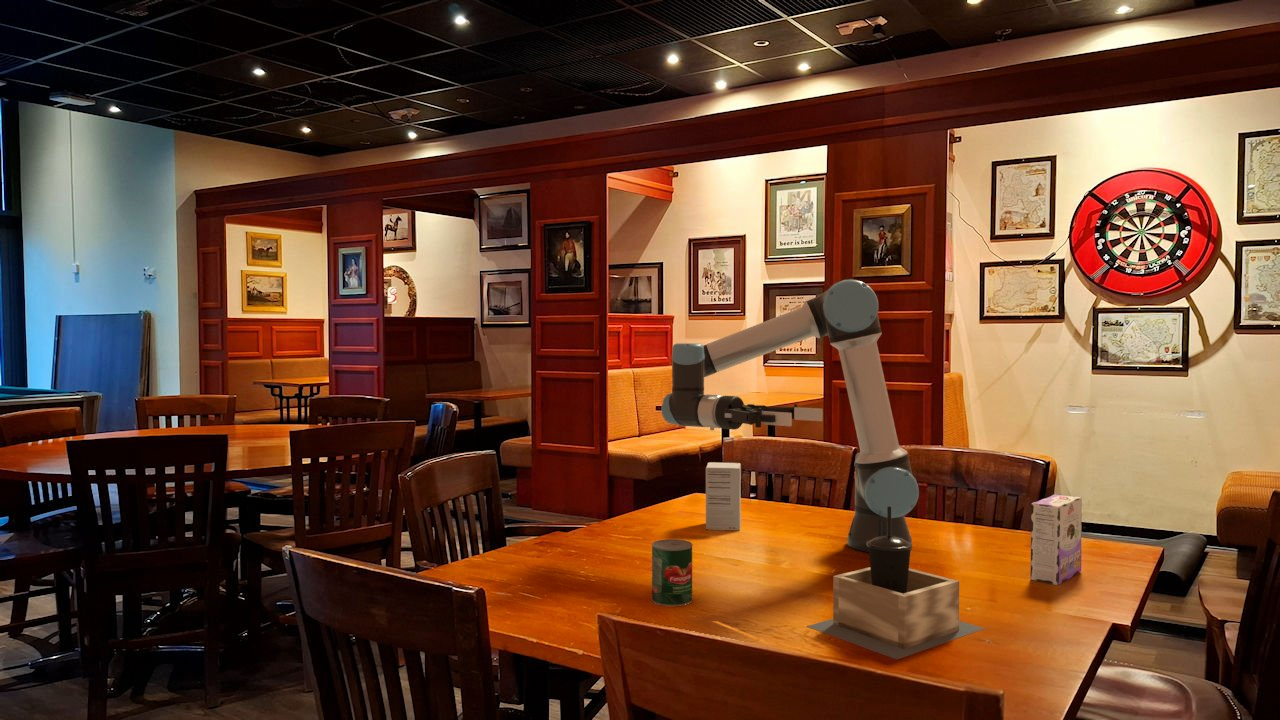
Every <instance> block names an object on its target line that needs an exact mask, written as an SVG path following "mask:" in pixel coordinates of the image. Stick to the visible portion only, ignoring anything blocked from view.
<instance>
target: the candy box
mask: <svg viewBox="0 0 1280 720" xmlns="http://www.w3.org/2000/svg"><path fill="white" fill-rule="evenodd" d="M1030 504H1031V507H1030V509H1031V511H1030V513H1031V514H1030V517H1031V520H1030V525H1031V526H1030V580H1031V581H1035V582H1040V583H1045V584H1050V585H1054V586H1059V585H1061V584H1063V583H1064V582H1066V581H1068V580H1069V579H1071V578H1073V577H1075V576H1076V575H1077V574H1080V573H1082V516H1083V515H1082V497H1081V496H1080V497H1079V496H1072V495H1063V494H1052V495H1051V496H1048V497H1045V498H1042V499H1040V500H1037V501H1034V502H1032V503H1030Z"/></svg>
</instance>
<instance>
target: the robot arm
mask: <svg viewBox="0 0 1280 720" xmlns="http://www.w3.org/2000/svg"><path fill="white" fill-rule="evenodd" d="M879 309H880V308H879V300H878V296H877V295H876V292H875V291H874V290H873V289H872V287H870V286H869V285H868V284H867V283H865V282H863V281H860V280H857V279H852V278H850V279H843V280H841V281H836V282H835V283H833V284H832V285H831V286H830V287H829V288H828V289H827V290H825V291H824V292H823V293H820V294H819V295H817V296H815V297H813V298H810V299H809V300H805V301H804V303H803V304H802V306H801V307H800V308H797V309H794V310H791V311H789V312H785V313H783V314H781V315H778V316H776V317H773V318H771V319H768V320H765V321H762V322H761V323H758V324H755V325H752V326H750V327H747V328H745V329H743V330H739V331H737V332H735V333H734V332H733V333H732V334H729V335H728V336H727V335H726V336H724V337H722V338H719V339H716V340H714V341H711V342H709V343H706V344H703V343H699V342H698V343H697V342H696V343H695V342H693V343H692V342H691V343H688V342H687V343H686V342H685V343H682V342H681V343H674V344H673V345H672V350H671V352H672V354H671V369H672V371H671V376H672V377H671V379H672V380H671V382H672V387H671V389H672V390H671V393H668V394H666V395H665V396H664V397H663V400H662V404H661V408H660V409H661V410H660V411H661V415H662V417H663V419H664V421H665V422H667V423H668V424H669V425H670V424H671V425H675V426H676V425H677V426H681V427H695V428H696V427H697V428H709V431H715V429H723V430H738V429H740V428H741V426H742V425H743V424H745V425H749V426H753V425H754V424H755V428H762V425H763V426H764V425H766V426H780V427H781V426H783V427H792V425H793V424H792V423H793V420H796V421H797V420H798V421H811V422H823V417H824V416H823V414H824V413H823V408H814V407H800V406H798V403H794V404H793V406H768V405H764V404H761V405H760V404H758V405H757V404H756V405H755V404H753V403H752V404H751V403H747V404H744V403H745V402H744V401H743V400H742V398H741V397H740V396H737V395H721V394H705V378H706V377H709V376H713V375H714V374H717V373H719V372H721V371H724V370H726V369H729V368H732V367H735V366H737V365H741V364H743V363H745V362H748V361H751V360H754V359H757V358H758V357H761V356H764V355H767V354H770V353H772V352H774V351H777V350H781V349H782V348H785V347H788V346H790V345H793V344H796V343H799V342H801V341H804V340H807V339H809V338H812V337H815V338H817V339H821V338H823V337H826V336H828V339H829V343H830V346H832V347H834V349H837V351H838V354H839V359H840V363H841V369H842V372H843V373H842V374H843V377H844V383H845V387H846V391H847V396H848V400H849V405H850V410H851V414H852V419H853V422H854V427H855V431H856V438H857V442H858V447H859V452H858V453H856V454H855V459H854V466H853V467H854V515H853V518H852V521H851V524H850V526H849V531H848V532H847V546H848V547H849V548H851V549H855V550H857V551H861V552H867V553H869V549H868V546H867V541H868V540H871V539H874V538H876V537H879V536H887V507H891V536H896V537H899V538H902V539H904V540H905V541H907V542H910V543H911V544H912V545H913V539H912V536H911V534H910V531H909V529H910V528H909V527H908V524H907V521H906V517H905V516H906V515H907V514H909V513H910V512H911V511H912V510H913V509H914V507H915V506H916V505H917V503H918V500H919V497H920V496H919V495H920V490H919V485H918V482H917V478H916V477H915V476H914V475H913V471H912V466H911V463H910V458H909V453H908V451H907V450H906V449H904V448H902V446H901V445H900V443H899V439H898V435H897V431H896V426H895V421H894V417H893V413H892V407H891V403H890V397H889V393H888V389H887V388H888V387H887V386H886V380H885V375H884V371H883V366H882V362H881V357H880V351H879V347H878V343H877V342H878V340H879V338H880V337H882V334H883V333H882V327H881V324H880V319H879V315H878V314H879ZM792 419H793V420H792Z"/></svg>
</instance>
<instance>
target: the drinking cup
mask: <svg viewBox="0 0 1280 720" xmlns="http://www.w3.org/2000/svg"><path fill="white" fill-rule="evenodd" d="M867 546H868V549H869V552H868V558H869V567H870V569H871V580H872V585H875V586H878V587H882V588H885V589H888V590H892V591H895V592H899V593H902V594H904V593H907V584H908V573H909V568H910V562H911V561H910V560H911V550H912V549H913V543H912V544H911V543H910V542H907V541H905V540H904V539H902V538H899V537H896V536H891V507H887V536H879V537H876V538H874V539H871V540H868V541H867Z"/></svg>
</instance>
